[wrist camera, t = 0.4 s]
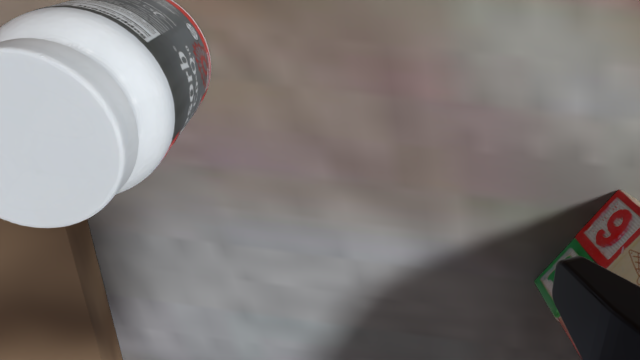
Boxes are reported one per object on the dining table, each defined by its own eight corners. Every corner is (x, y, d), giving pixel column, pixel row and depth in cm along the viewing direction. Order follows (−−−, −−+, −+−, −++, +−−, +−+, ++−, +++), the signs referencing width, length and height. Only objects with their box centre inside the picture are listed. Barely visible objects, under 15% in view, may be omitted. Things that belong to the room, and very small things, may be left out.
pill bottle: (196, 141, 23) (122, 273, 14) (65, 102, 22) (-102, 215, 13) (229, 12, 21) (164, 73, 12) (83, -37, 20) (-103, -12, 11)
